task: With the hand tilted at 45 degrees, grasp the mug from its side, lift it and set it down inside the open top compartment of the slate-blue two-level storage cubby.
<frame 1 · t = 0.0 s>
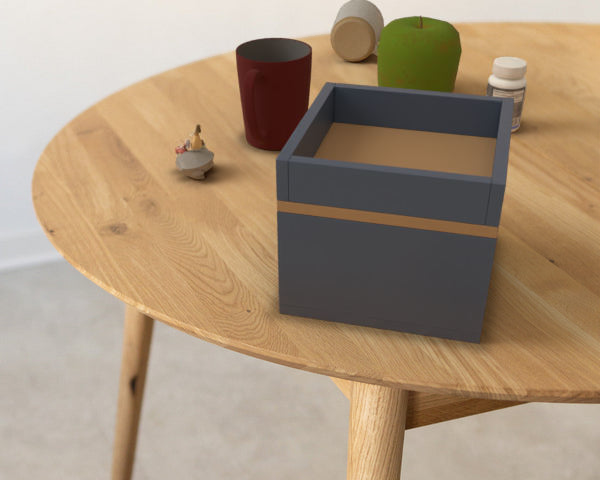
storage cubby: (392, 274, 72), on the table
figurine: (196, 175, 89), on the table
mug: (271, 144, 96), on the table
pill bottle: (500, 128, 100), on the table
ceramic mug: (364, 57, 122), on the table
apple: (414, 97, 108), on the table
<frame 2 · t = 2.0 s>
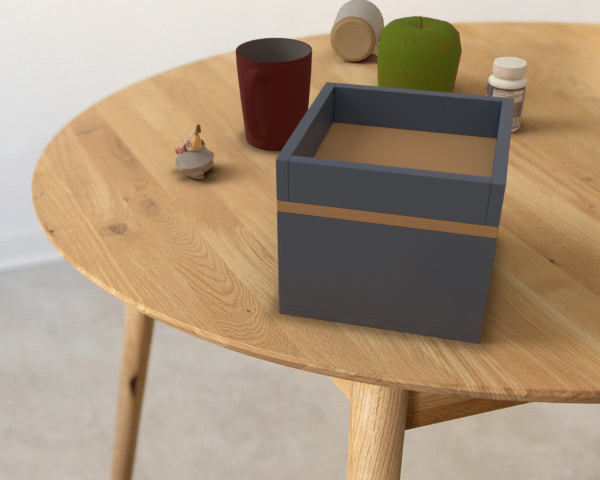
nothing on the table moved.
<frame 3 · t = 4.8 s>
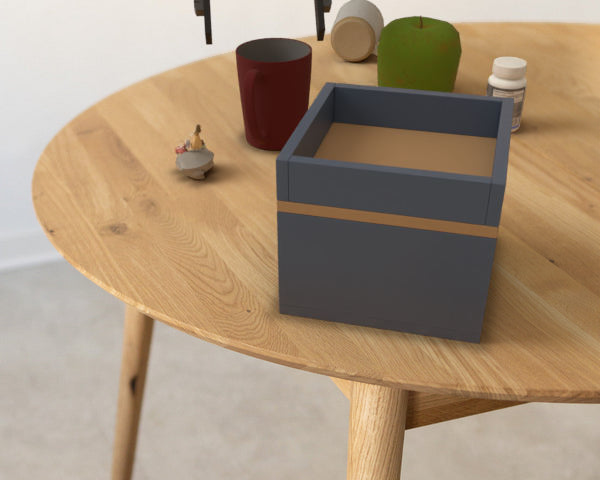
hand: (265, 37, 94), 11 cm above the table, tool tilted 45°, fingers open, 13 cm apart
nothing on the table moved.
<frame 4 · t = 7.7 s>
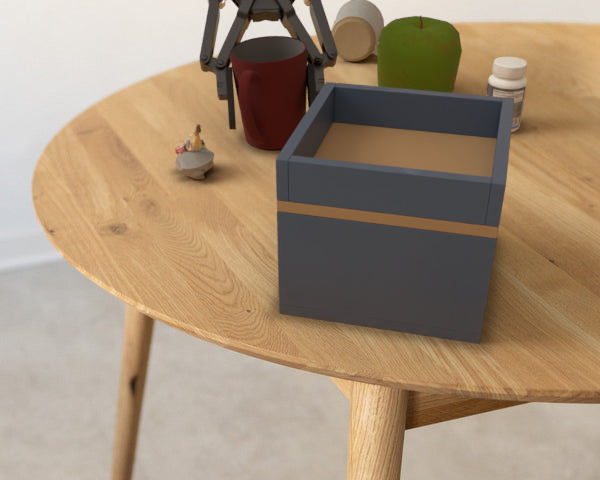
hand: (273, 122, 91), 4 cm above the table, tool tilted 45°, fingers closed on mug, 9 cm apart
mug: (270, 143, 96), on the table, touching gripper
everything else where it was.
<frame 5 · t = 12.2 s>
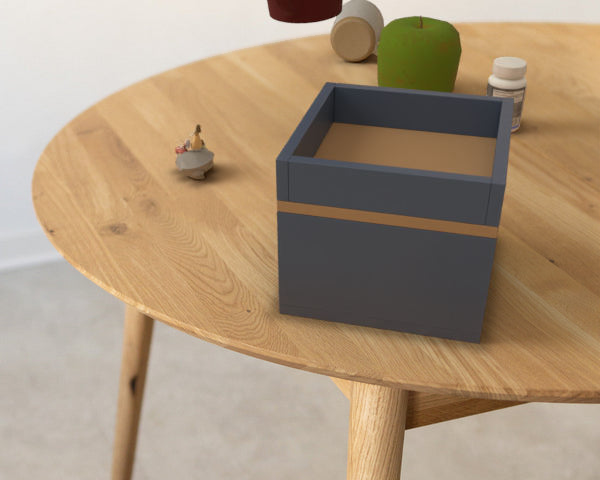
mug: (300, 19, 78), point 17 cm above the table, touching gripper
everything else where it was.
when the fingers open (15 cm above the table, at t = 17.3 s): mug stays where it is, resting on storage cubby.
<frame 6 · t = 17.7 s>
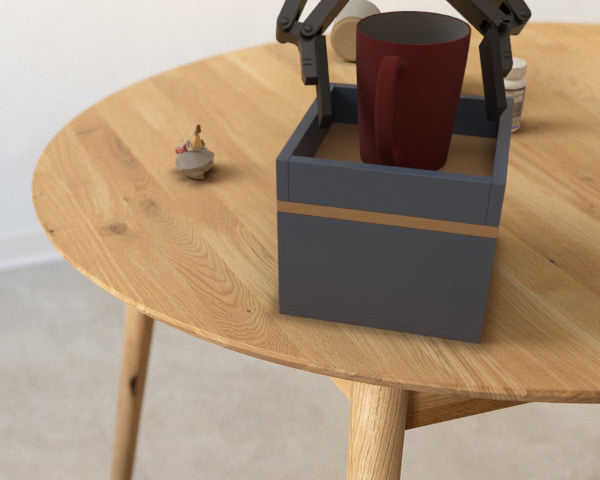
hand: (412, 118, 61), 16 cm above the table, tool tilted 45°, fingers open, 13 cm apart
mug: (398, 167, 66), point 11 cm above the table, touching storage cubby
everything else where it was.
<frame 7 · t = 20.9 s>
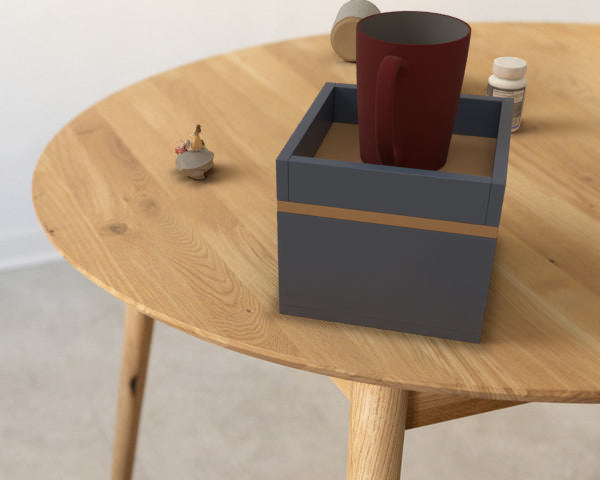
nothing on the table moved.
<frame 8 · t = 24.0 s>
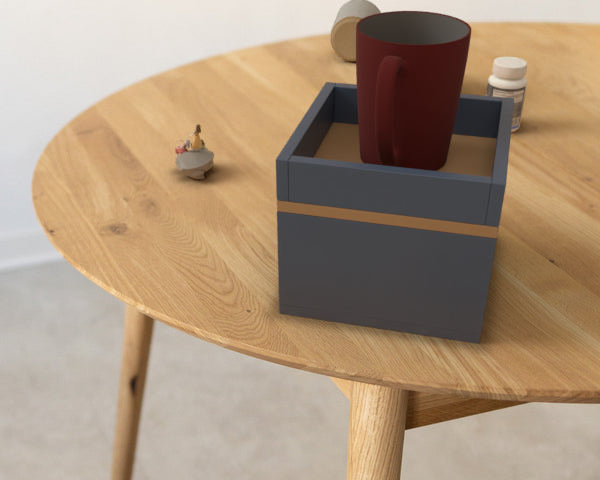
nothing on the table moved.
at the end: mug inside the target area on the storage cubby (0.2 cm from its centre), point 10.8 cm above the storage cubby's base; mug tilted 0°; the gripper is holding nothing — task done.
